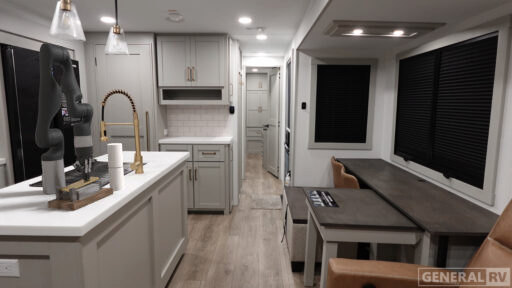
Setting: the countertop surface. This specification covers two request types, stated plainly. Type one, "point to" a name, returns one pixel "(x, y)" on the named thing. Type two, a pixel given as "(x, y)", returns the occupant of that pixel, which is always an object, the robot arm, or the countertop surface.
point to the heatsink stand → (79, 196)
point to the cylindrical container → (115, 166)
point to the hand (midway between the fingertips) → (86, 180)
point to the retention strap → (78, 184)
